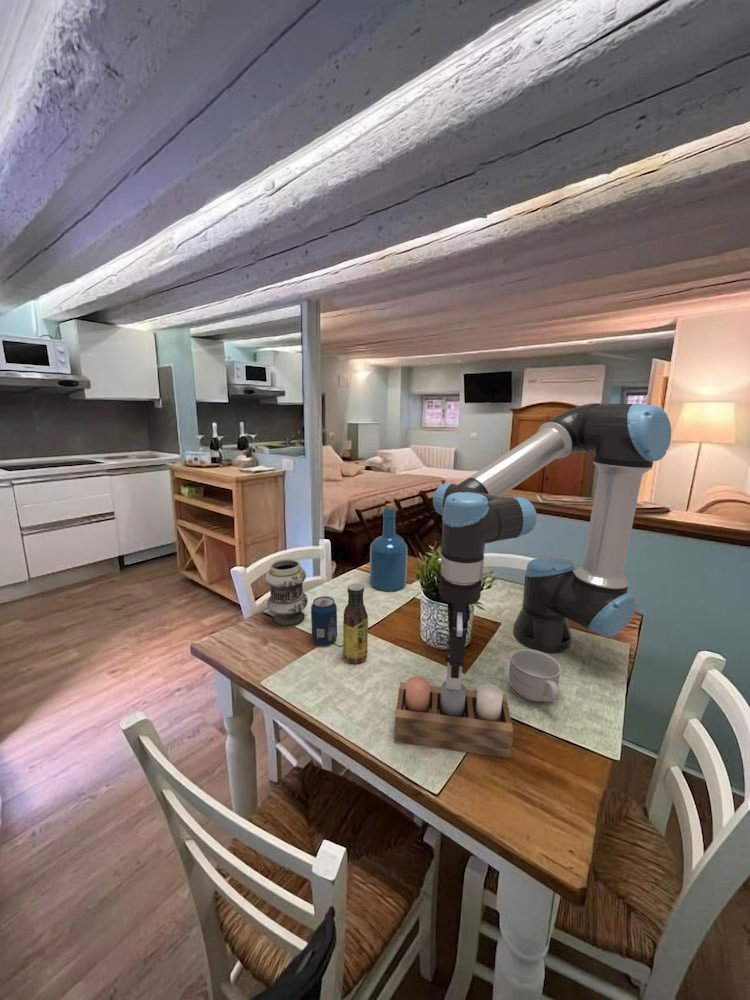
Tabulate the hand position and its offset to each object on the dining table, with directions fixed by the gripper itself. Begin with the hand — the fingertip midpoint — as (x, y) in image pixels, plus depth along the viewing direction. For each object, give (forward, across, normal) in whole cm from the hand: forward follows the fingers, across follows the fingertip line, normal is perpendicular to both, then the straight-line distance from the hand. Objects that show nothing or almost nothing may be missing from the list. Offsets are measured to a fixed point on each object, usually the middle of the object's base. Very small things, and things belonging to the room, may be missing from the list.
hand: (453, 687), depth 80 cm
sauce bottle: (+10, -20, -24) cm, 33 cm away
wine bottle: (+10, -64, -21) cm, 68 cm away
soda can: (+10, -26, -34) cm, 44 cm away
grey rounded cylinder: (+6, 0, 0) cm, 6 cm away
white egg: (+6, 0, +7) cm, 9 cm away
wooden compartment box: (+10, 0, 0) cm, 10 cm away
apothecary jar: (+11, -35, -48) cm, 60 cm away
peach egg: (+6, 0, -7) cm, 9 cm away
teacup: (+10, -13, +19) cm, 25 cm away
